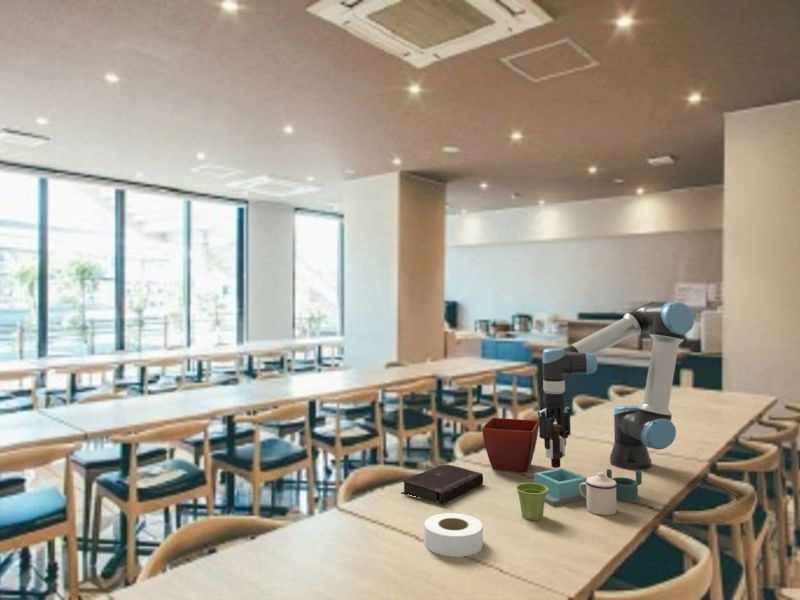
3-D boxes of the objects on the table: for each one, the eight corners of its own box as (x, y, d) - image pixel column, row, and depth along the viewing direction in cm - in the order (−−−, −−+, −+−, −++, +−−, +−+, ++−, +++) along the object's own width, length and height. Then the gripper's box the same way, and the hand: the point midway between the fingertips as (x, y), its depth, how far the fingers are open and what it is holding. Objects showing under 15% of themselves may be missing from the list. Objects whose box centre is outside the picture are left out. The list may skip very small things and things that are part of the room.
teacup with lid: (622, 511, 169) (622, 473, 169) (607, 518, 163) (607, 479, 163) (587, 500, 178) (587, 464, 178) (571, 507, 172) (571, 470, 172)
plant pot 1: (481, 471, 208) (481, 427, 208) (492, 458, 226) (492, 417, 226) (532, 477, 201) (532, 431, 201) (539, 463, 218) (539, 420, 218)
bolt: (546, 464, 200) (545, 423, 200) (559, 464, 200) (558, 423, 200) (551, 469, 194) (550, 427, 194) (565, 469, 194) (564, 426, 194)
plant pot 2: (530, 525, 159) (530, 495, 159) (509, 514, 167) (509, 485, 167) (554, 519, 163) (554, 490, 163) (533, 508, 171) (533, 480, 171)
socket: (567, 485, 192) (567, 466, 192) (595, 497, 181) (595, 477, 181) (526, 493, 185) (526, 474, 185) (552, 506, 173) (552, 485, 173)
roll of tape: (445, 527, 158) (445, 507, 158) (493, 542, 148) (493, 521, 148) (412, 546, 146) (411, 525, 146) (462, 564, 136) (462, 541, 136)
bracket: (644, 498, 180) (643, 470, 180) (625, 503, 175) (625, 475, 175) (620, 490, 187) (620, 464, 187) (602, 495, 183) (602, 468, 183)
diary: (483, 486, 193) (484, 472, 193) (443, 508, 174) (443, 492, 174) (440, 475, 205) (440, 462, 205) (398, 494, 186) (398, 479, 186)
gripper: (566, 388, 204) (567, 450, 204) (527, 392, 196) (528, 457, 196) (580, 390, 197) (582, 455, 197) (541, 395, 190) (542, 463, 190)
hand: (555, 456), depth 197 cm, fingers closed on bolt, 5 cm apart
